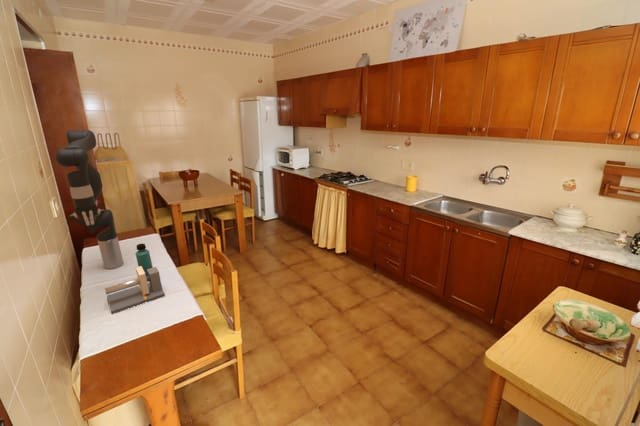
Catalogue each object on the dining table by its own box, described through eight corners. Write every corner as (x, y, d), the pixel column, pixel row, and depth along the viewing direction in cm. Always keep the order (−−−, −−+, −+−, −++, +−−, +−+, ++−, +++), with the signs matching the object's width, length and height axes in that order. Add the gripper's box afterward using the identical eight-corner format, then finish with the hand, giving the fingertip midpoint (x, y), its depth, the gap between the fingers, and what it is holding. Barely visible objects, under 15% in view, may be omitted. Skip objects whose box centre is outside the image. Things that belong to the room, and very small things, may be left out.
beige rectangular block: (139, 286, 151) (135, 267, 147) (145, 284, 152) (141, 266, 149) (143, 294, 144) (139, 275, 141) (149, 292, 146) (145, 273, 142)
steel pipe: (105, 292, 139) (104, 286, 138) (151, 278, 151) (150, 273, 150) (106, 296, 137) (105, 290, 136) (153, 281, 148) (152, 275, 147)
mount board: (107, 298, 146) (101, 277, 142) (157, 282, 159) (153, 263, 155) (111, 314, 135) (105, 292, 131) (165, 296, 148) (161, 275, 144)
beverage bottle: (157, 276, 164) (151, 243, 158) (147, 282, 159) (140, 248, 152) (148, 274, 166) (141, 241, 160) (137, 280, 161) (130, 246, 154)
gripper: (100, 191, 139) (108, 226, 145) (63, 196, 131) (73, 232, 137) (102, 194, 134) (110, 231, 140) (63, 200, 126) (74, 238, 132)
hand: (92, 231), depth 138 cm, fingers closed
